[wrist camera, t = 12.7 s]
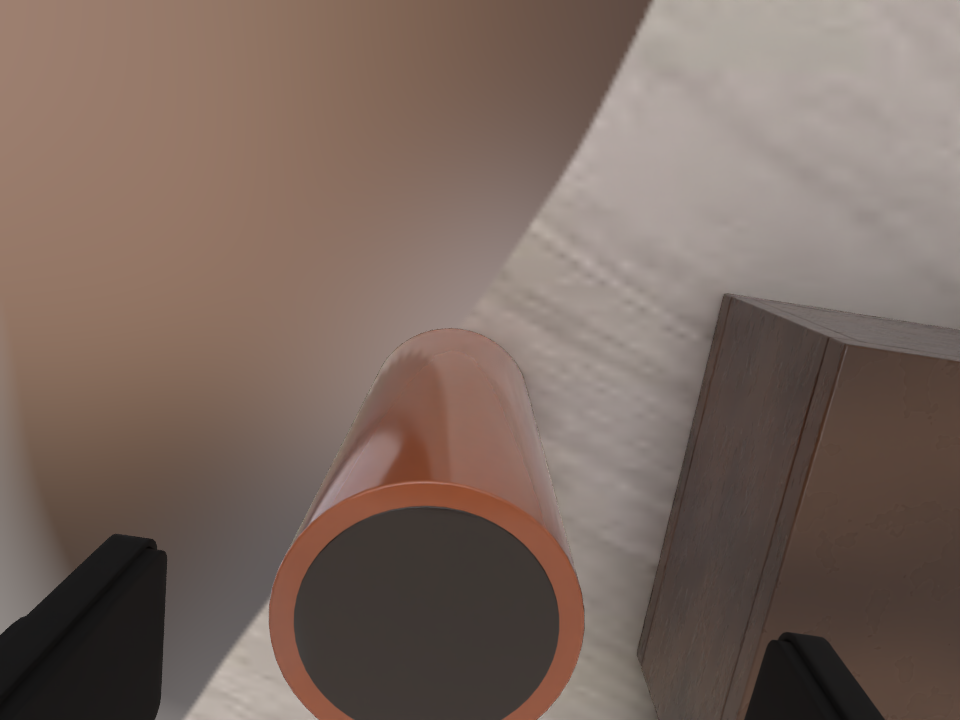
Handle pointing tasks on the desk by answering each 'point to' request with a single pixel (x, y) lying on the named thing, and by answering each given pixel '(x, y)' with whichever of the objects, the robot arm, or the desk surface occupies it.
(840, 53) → the desk surface
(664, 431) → the desk surface
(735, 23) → the desk surface
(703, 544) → the cabinet
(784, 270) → the desk surface
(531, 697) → the pencil cup
